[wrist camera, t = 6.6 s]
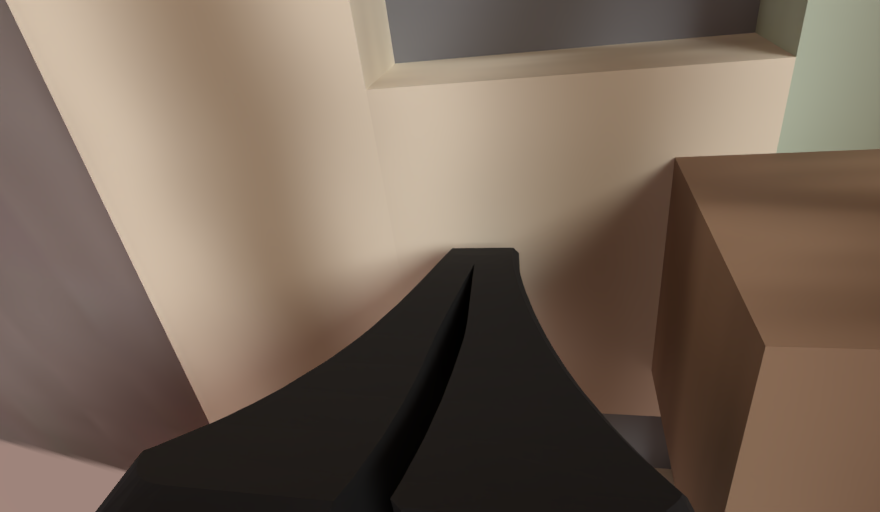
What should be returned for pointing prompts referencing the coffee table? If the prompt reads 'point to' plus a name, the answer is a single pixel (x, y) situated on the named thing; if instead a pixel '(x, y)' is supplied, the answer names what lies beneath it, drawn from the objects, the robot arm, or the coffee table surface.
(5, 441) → the coffee table surface
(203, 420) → the coffee table surface
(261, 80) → the trap board
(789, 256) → the block
